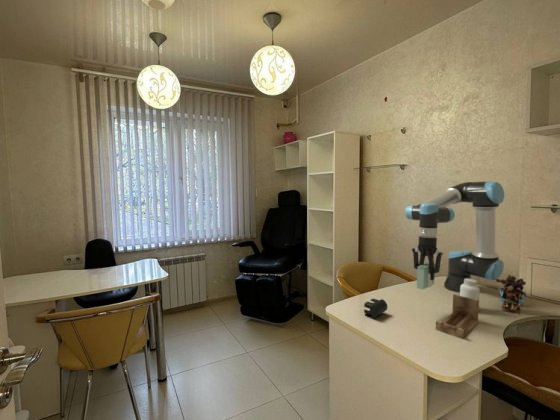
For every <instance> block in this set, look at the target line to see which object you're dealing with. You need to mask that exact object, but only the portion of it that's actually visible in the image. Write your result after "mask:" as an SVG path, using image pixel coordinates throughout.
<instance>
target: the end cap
mask: <svg viewBox="0 0 560 420" xmlns="http://www.w3.org/2000/svg"><path fill="white" fill-rule="evenodd" d="M363 307H364V309H363V313H364V315H365V316H364V315H363V316H364V317H366V316H367V317H366V318H369V317H370V318H369V319H372V318H373V319H376V318H377V317H379V316H380V315H383V313H384V312H386V311H387V310H388V304H387V302H386V301H385V300H384V299H382V298H381V299H377V298H371V299H370V301H366V302H364V305H363ZM366 308H367V309H366ZM368 309H369V310H368Z"/></svg>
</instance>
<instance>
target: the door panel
mask: <svg viewBox="0 0 560 420" xmlns="http://www.w3.org/2000/svg"><path fill="white" fill-rule="evenodd" d="M434 268H435V263H434ZM416 271H417V272H416V289H420V290H423V291H424V290H425V289H427V288H429V287H428V273H430V267H429V261H428V262H426V263H424V264H423V265H421V266H418V267H417V269H416ZM435 274H436V273H435ZM435 274H434V278H436V277H435ZM434 285H435V279H434V280H432V286H434Z"/></svg>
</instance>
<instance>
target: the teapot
mask: <svg viewBox="0 0 560 420" xmlns="http://www.w3.org/2000/svg"><path fill="white" fill-rule="evenodd" d="M497 289H498V290H499V294H500V295H501V297H502V296H503V291H501V288H499V287H497ZM525 299H526V298H525V296H524V295H523V296H522V299H519V303H518V304H519V305H520V306H521V305H522V304H524V300H525ZM504 300H505V299H502V298H501V302H503V301H504Z"/></svg>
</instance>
